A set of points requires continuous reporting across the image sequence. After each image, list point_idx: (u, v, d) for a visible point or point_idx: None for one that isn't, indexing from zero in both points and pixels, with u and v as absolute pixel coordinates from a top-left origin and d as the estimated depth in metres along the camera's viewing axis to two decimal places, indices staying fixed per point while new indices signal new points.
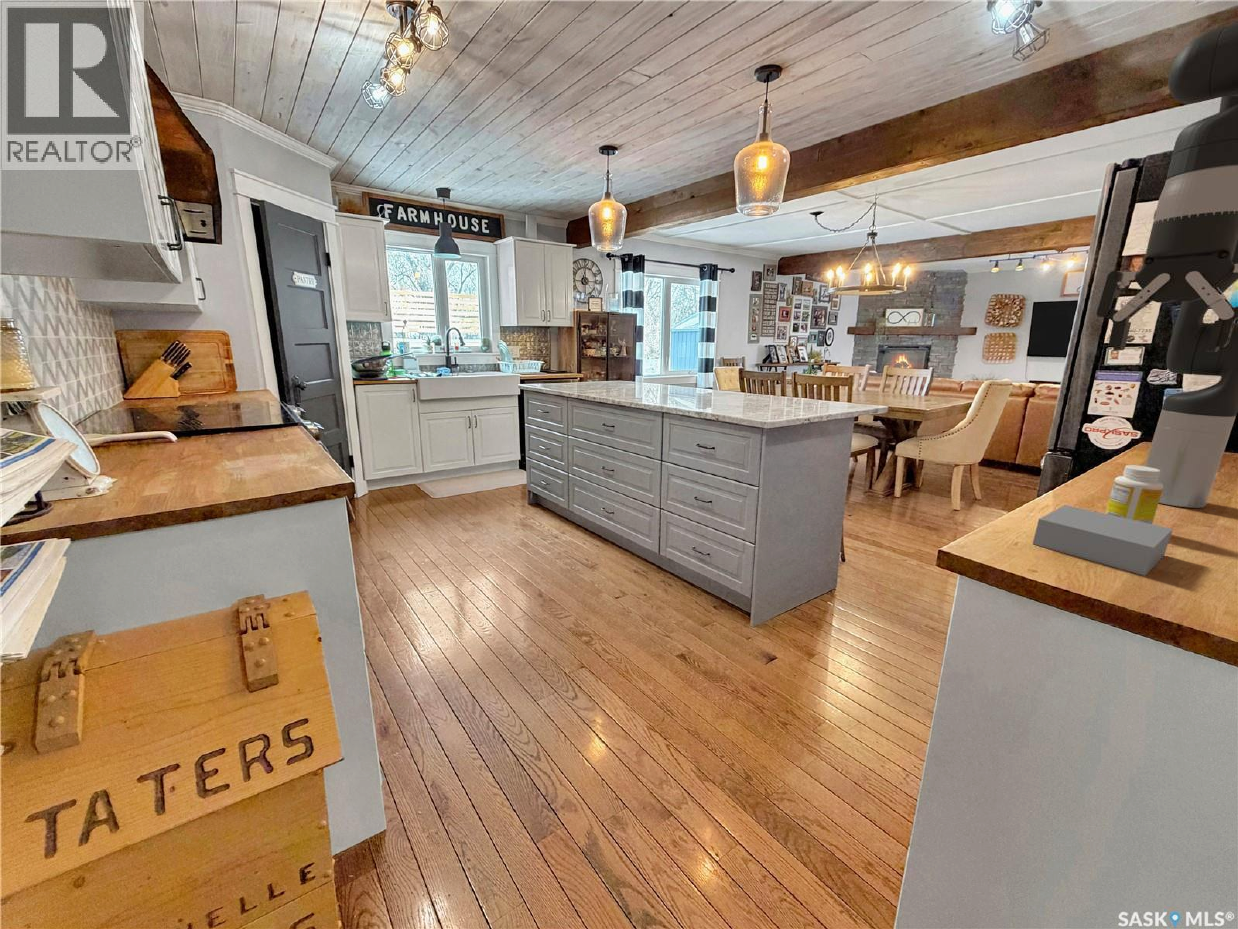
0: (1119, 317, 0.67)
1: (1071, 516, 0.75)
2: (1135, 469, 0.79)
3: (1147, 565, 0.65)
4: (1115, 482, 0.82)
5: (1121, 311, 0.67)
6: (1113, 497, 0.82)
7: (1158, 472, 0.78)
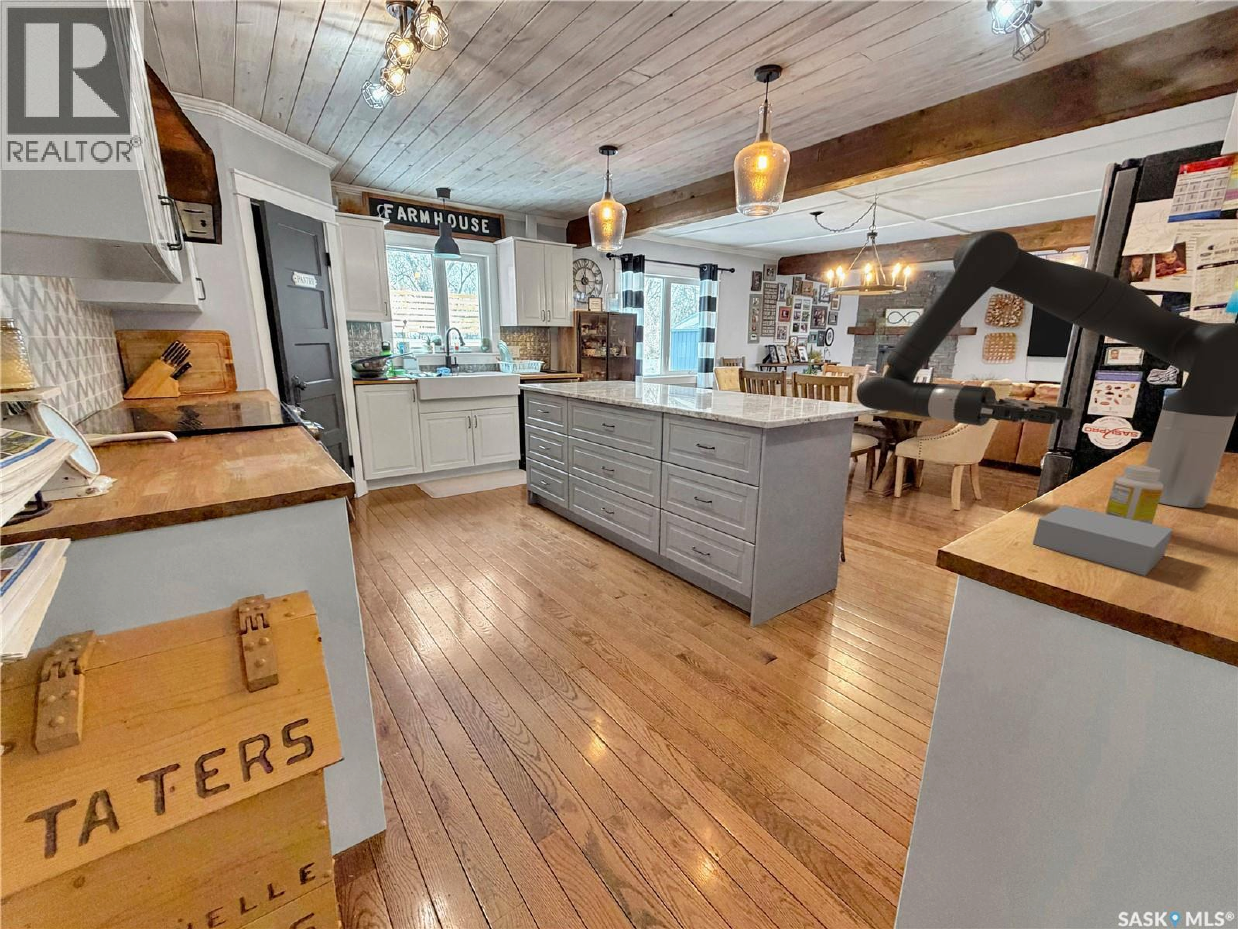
0: None
1: (1071, 516, 0.75)
2: (1135, 469, 0.79)
3: (1147, 565, 0.65)
4: (1115, 482, 0.82)
5: None
6: (1113, 497, 0.82)
7: (1158, 472, 0.78)
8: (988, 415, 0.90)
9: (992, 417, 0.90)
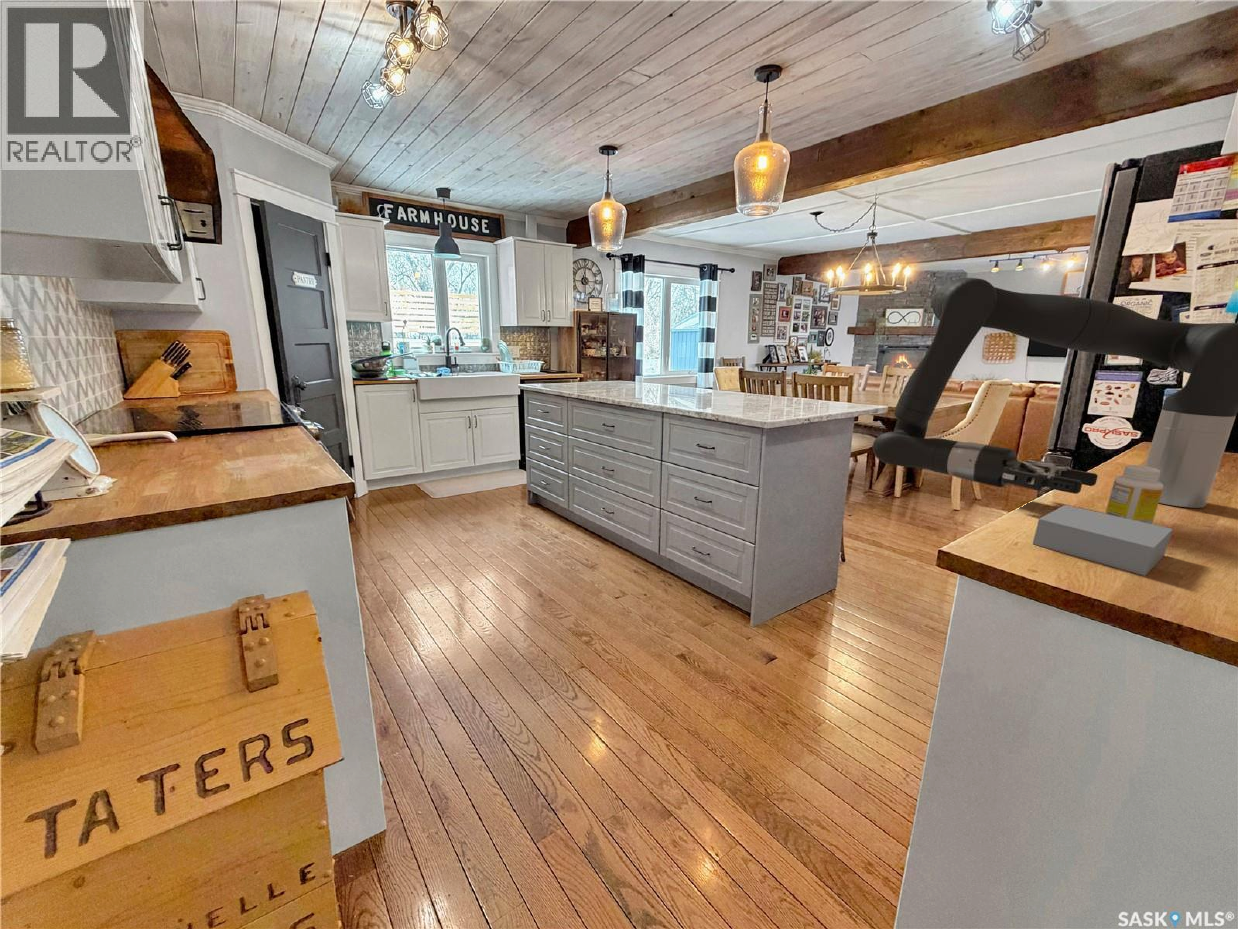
0: None
1: (1071, 516, 0.75)
2: (1135, 469, 0.79)
3: (1147, 565, 0.65)
4: (1115, 482, 0.82)
5: None
6: (1113, 497, 0.82)
7: (1158, 472, 0.78)
8: (1010, 481, 0.89)
9: (1014, 483, 0.88)
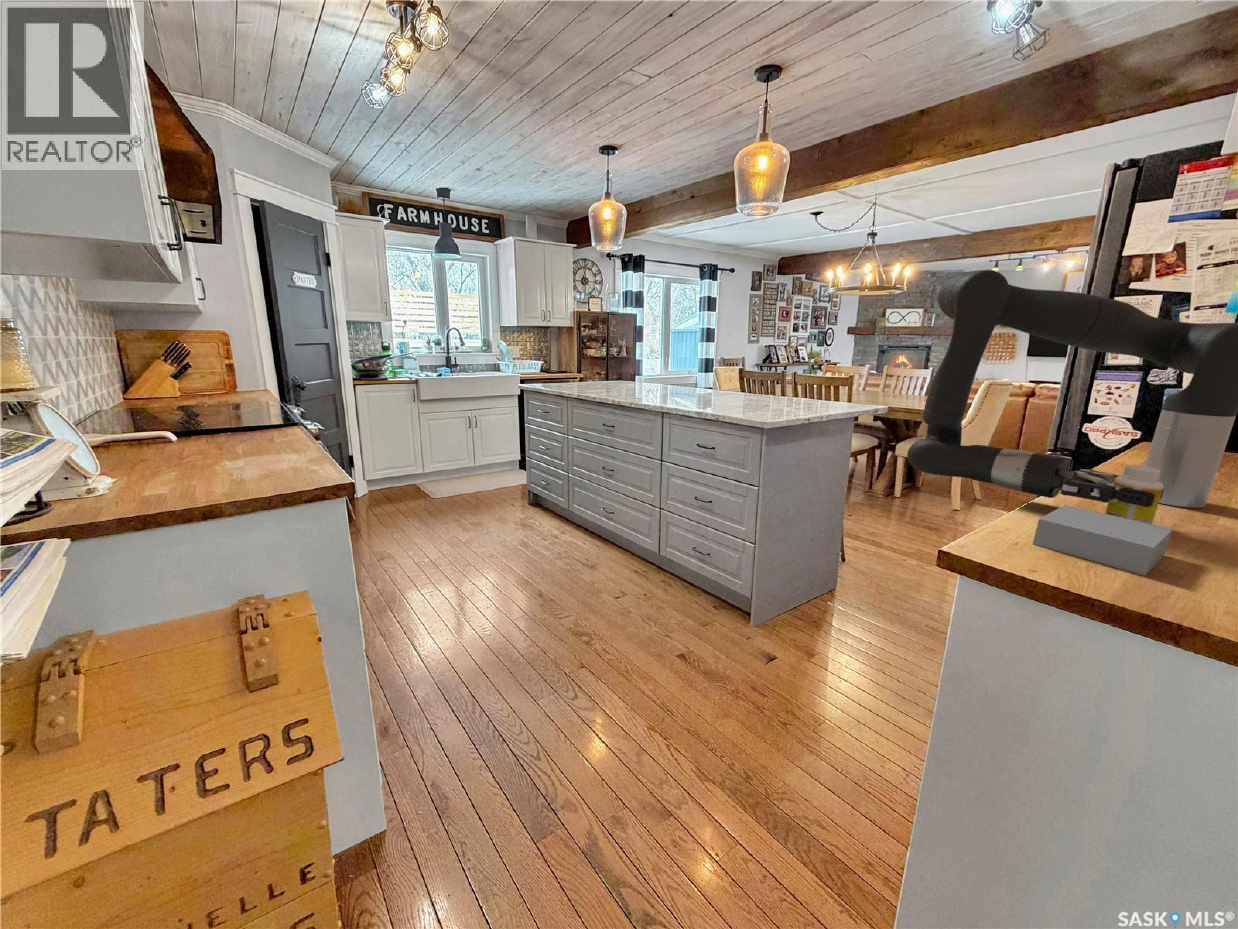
0: None
1: (1071, 516, 0.75)
2: (1135, 469, 0.79)
3: (1147, 565, 0.65)
4: (1115, 482, 0.82)
5: None
6: None
7: (1158, 472, 0.78)
8: (1073, 493, 0.82)
9: (1078, 496, 0.82)
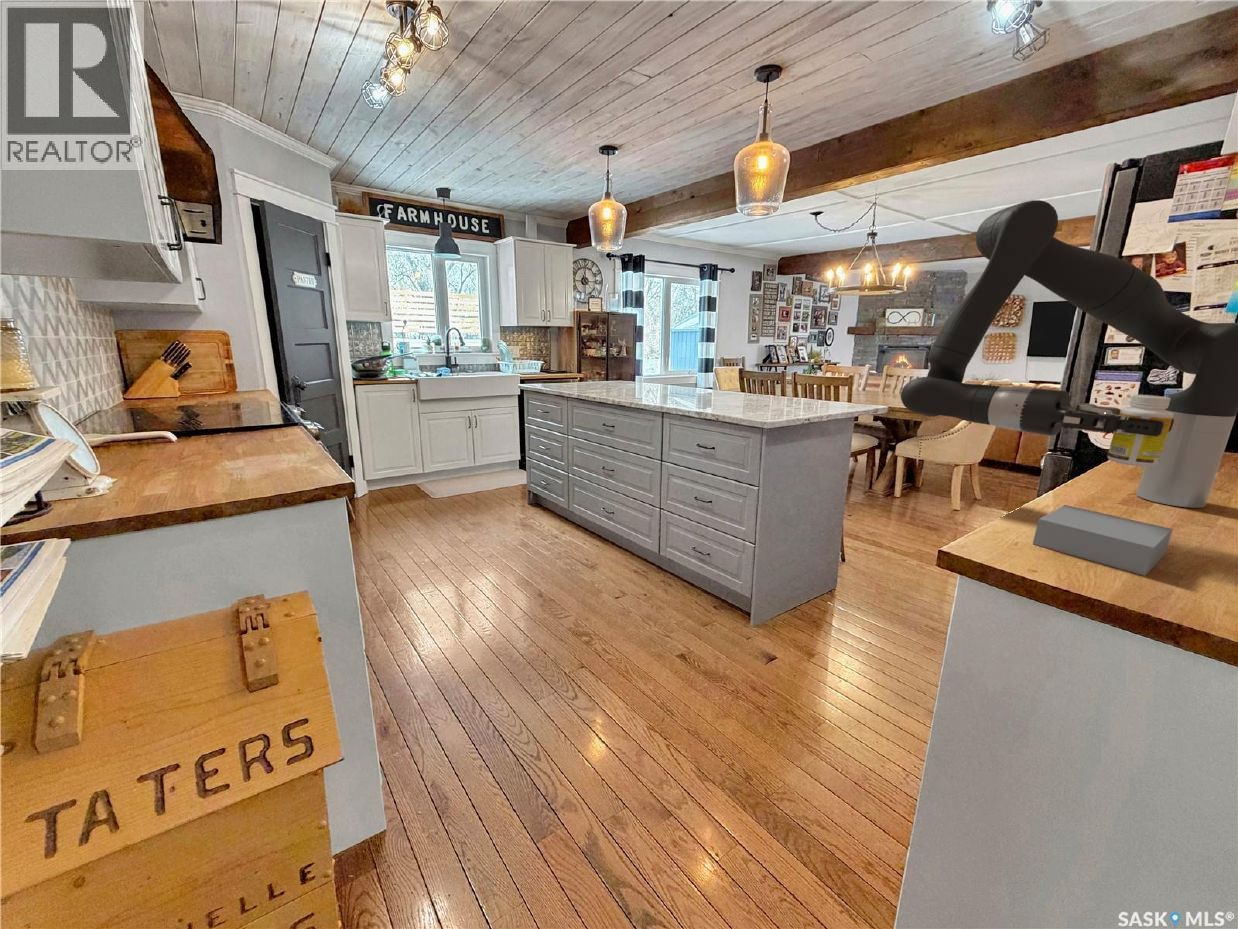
0: None
1: (1071, 516, 0.75)
2: (1143, 397, 0.73)
3: (1147, 565, 0.65)
4: (1121, 413, 0.76)
5: None
6: None
7: (1168, 399, 0.72)
8: (1074, 425, 0.76)
9: (1080, 427, 0.76)
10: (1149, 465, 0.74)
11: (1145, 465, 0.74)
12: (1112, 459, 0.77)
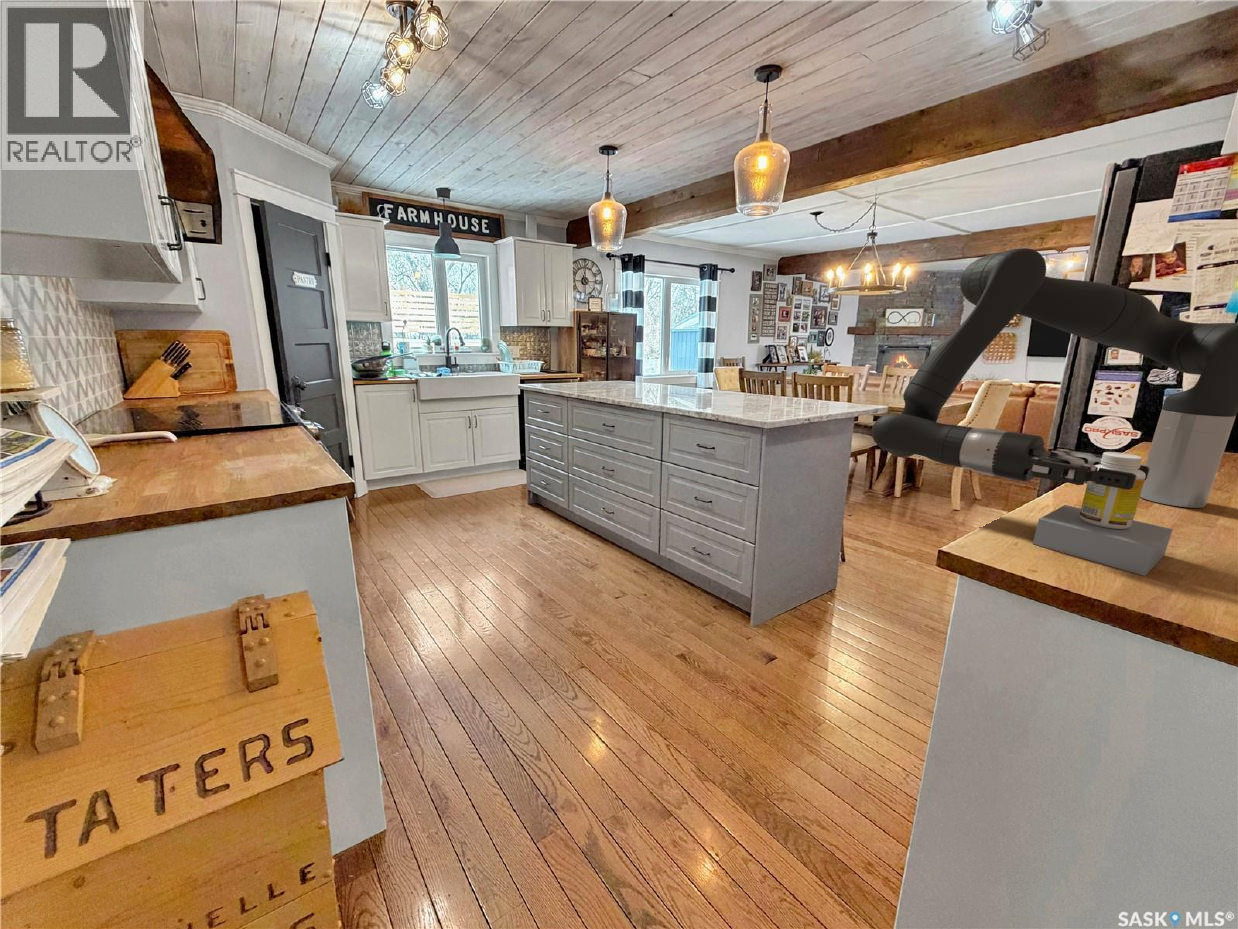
0: None
1: (1071, 516, 0.75)
2: (1113, 456, 0.69)
3: (1147, 565, 0.65)
4: None
5: None
6: (1089, 488, 0.72)
7: (1139, 459, 0.68)
8: (1043, 475, 0.72)
9: (1049, 477, 0.72)
10: (1122, 527, 0.70)
11: (1118, 527, 0.70)
12: (1084, 519, 0.73)
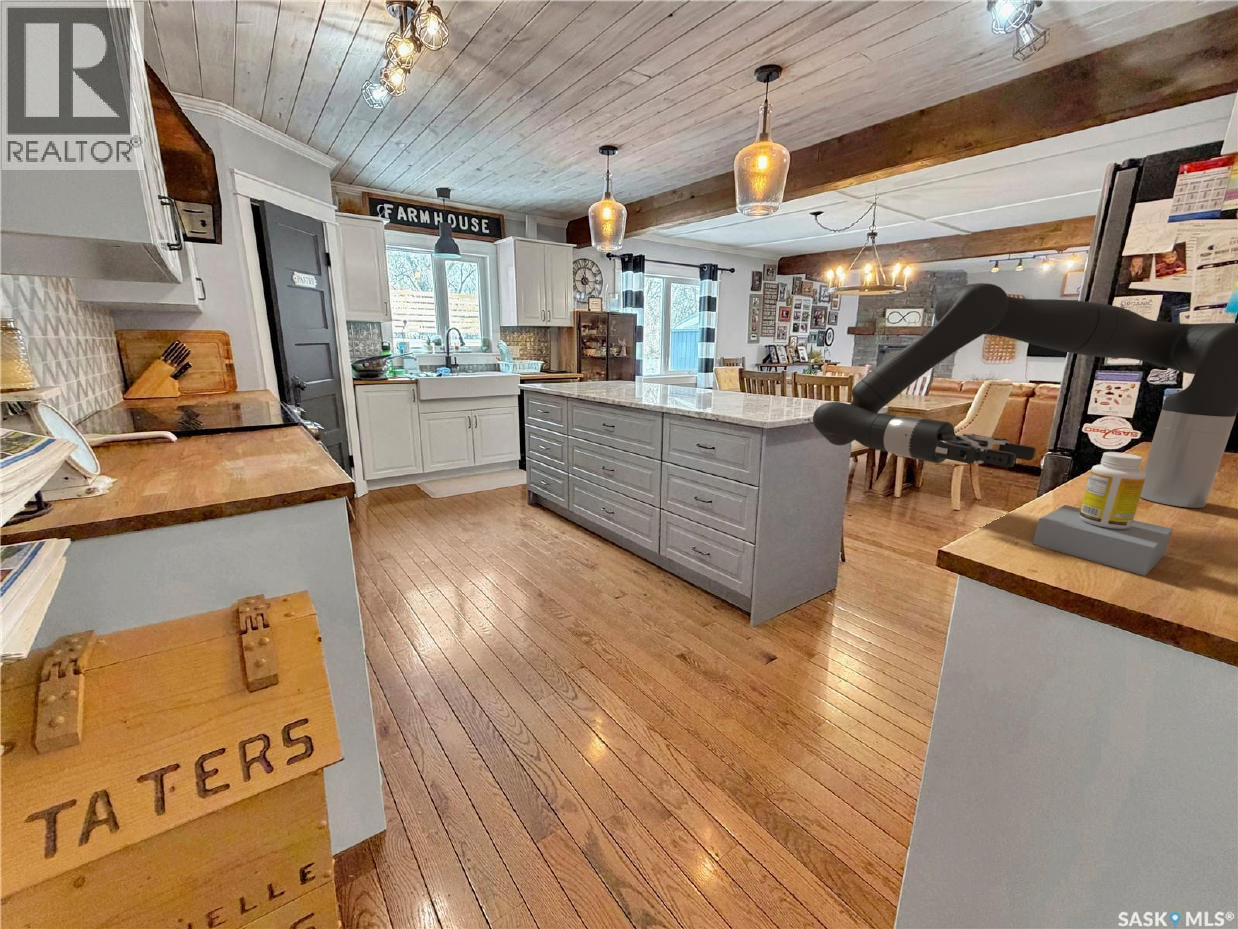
0: None
1: (1071, 516, 0.75)
2: (1114, 456, 0.69)
3: (1147, 565, 0.65)
4: (1092, 471, 0.72)
5: None
6: (1089, 488, 0.72)
7: (1140, 459, 0.68)
8: (943, 455, 0.83)
9: (947, 457, 0.82)
10: (1122, 528, 0.70)
11: (1118, 528, 0.70)
12: (1084, 519, 0.73)
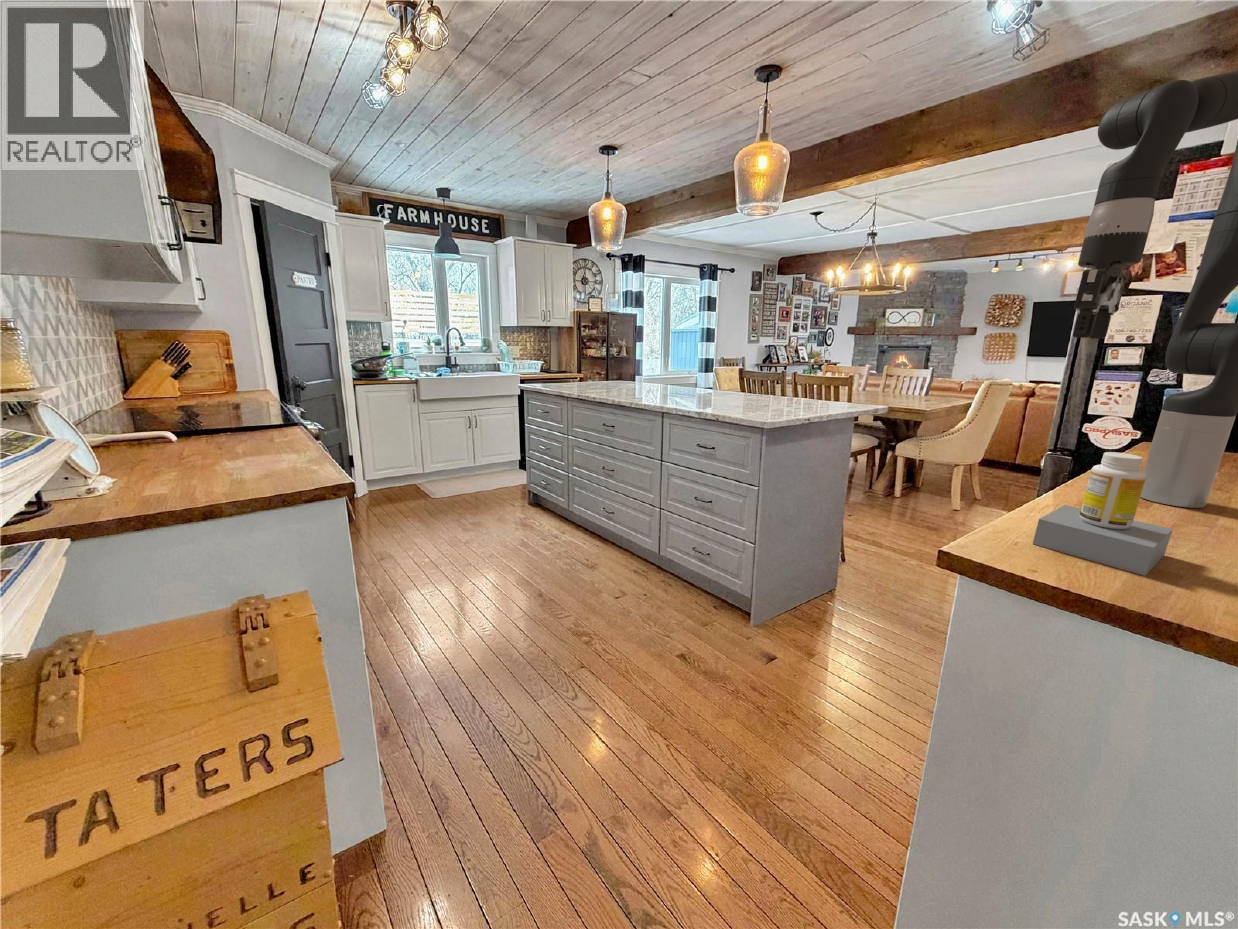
0: (1094, 312, 0.87)
1: (1071, 516, 0.75)
2: (1114, 456, 0.69)
3: (1147, 565, 0.65)
4: (1092, 471, 0.72)
5: None
6: (1090, 488, 0.72)
7: (1140, 459, 0.68)
8: (1084, 279, 0.79)
9: (1081, 284, 0.79)
10: (1122, 528, 0.70)
11: (1118, 528, 0.70)
12: (1084, 519, 0.73)
